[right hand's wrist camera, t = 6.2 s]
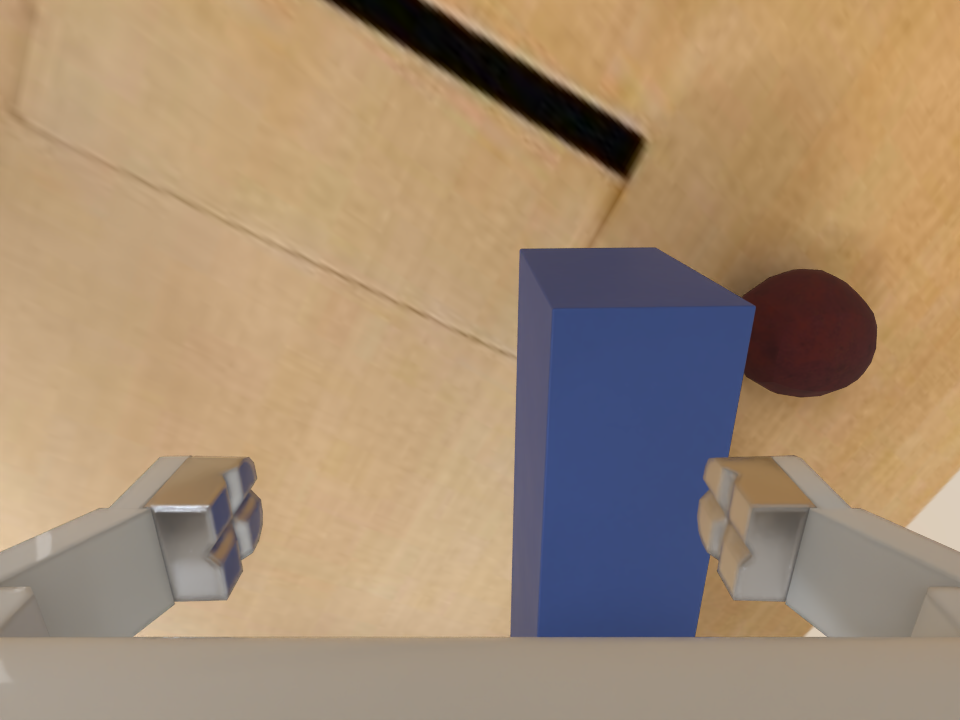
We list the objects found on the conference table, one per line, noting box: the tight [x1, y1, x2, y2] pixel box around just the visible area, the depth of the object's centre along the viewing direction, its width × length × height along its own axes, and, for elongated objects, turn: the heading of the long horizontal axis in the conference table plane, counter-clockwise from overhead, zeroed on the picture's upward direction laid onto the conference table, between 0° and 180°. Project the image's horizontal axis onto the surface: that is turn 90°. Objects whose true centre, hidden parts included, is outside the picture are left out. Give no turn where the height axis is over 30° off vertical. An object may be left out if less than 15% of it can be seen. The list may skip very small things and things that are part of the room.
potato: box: [742, 269, 877, 397], centre depth 33 cm, size 7×8×7 cm
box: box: [511, 248, 756, 637], centre depth 26 cm, size 27×6×9 cm, turn 0°
